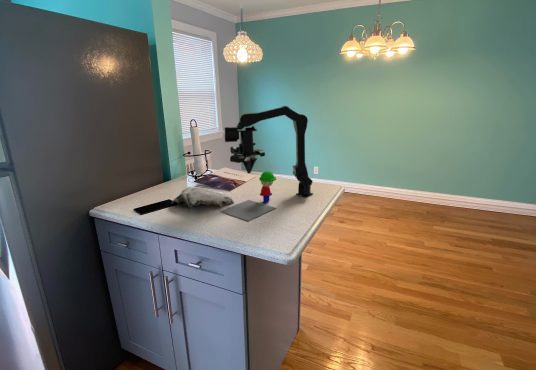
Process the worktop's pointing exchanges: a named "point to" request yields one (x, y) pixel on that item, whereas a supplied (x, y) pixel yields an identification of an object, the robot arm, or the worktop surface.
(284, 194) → the worktop surface
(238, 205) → the mat
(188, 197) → the stone fragment
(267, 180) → the toy
